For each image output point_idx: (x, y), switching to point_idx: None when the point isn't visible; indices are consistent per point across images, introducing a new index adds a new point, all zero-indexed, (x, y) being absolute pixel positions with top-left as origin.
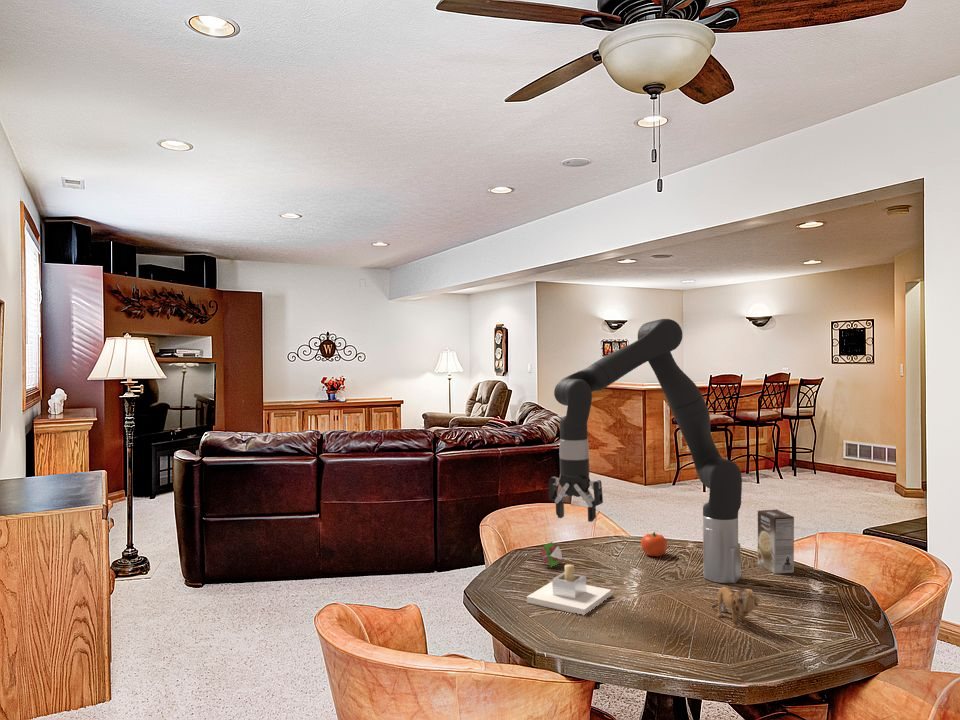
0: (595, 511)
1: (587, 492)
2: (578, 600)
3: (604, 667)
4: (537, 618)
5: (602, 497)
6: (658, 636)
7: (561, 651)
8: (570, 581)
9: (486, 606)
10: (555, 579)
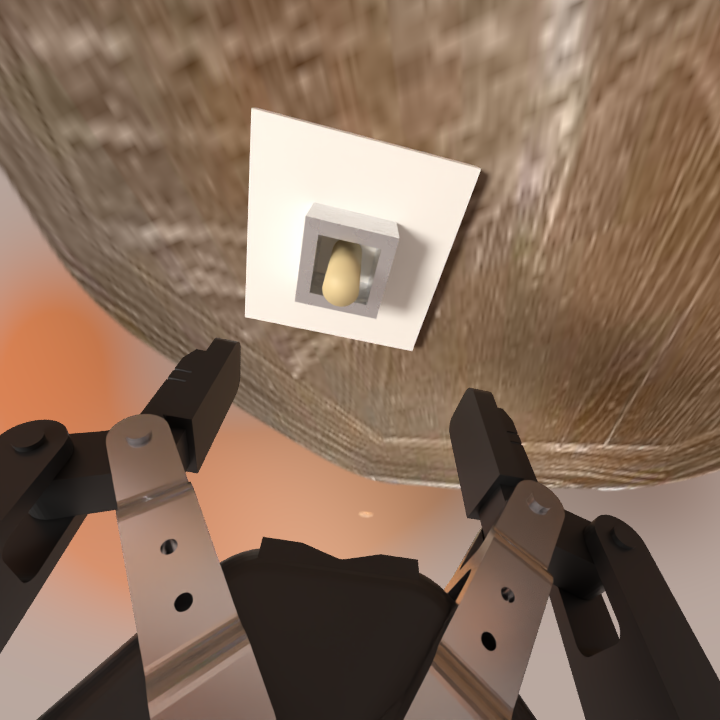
0: (523, 459)
1: (497, 615)
2: (386, 301)
3: None
4: (314, 381)
5: (667, 595)
6: (571, 390)
7: (396, 470)
8: (357, 307)
9: (179, 357)
10: (306, 303)
